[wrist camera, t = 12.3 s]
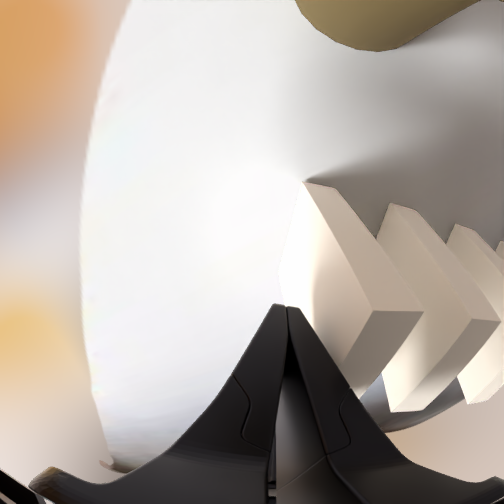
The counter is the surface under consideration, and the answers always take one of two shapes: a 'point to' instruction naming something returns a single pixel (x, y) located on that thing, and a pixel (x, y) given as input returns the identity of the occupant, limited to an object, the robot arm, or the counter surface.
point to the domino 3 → (499, 296)
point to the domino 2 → (432, 312)
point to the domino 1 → (345, 286)
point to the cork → (378, 20)
